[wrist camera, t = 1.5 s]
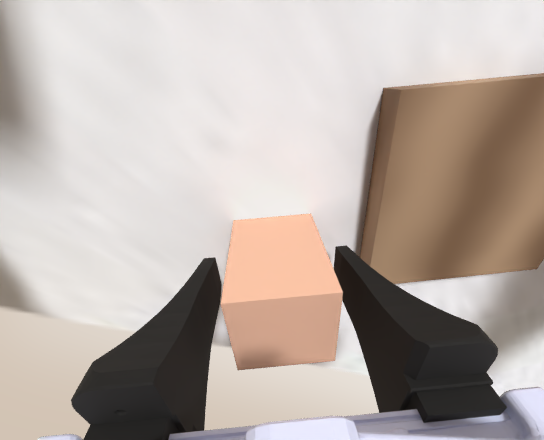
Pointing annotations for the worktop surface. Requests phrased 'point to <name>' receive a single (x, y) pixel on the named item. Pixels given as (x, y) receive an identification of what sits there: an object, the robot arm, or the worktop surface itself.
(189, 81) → the worktop surface
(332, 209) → the worktop surface
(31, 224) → the worktop surface
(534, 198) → the walnut board
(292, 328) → the terracotta block
